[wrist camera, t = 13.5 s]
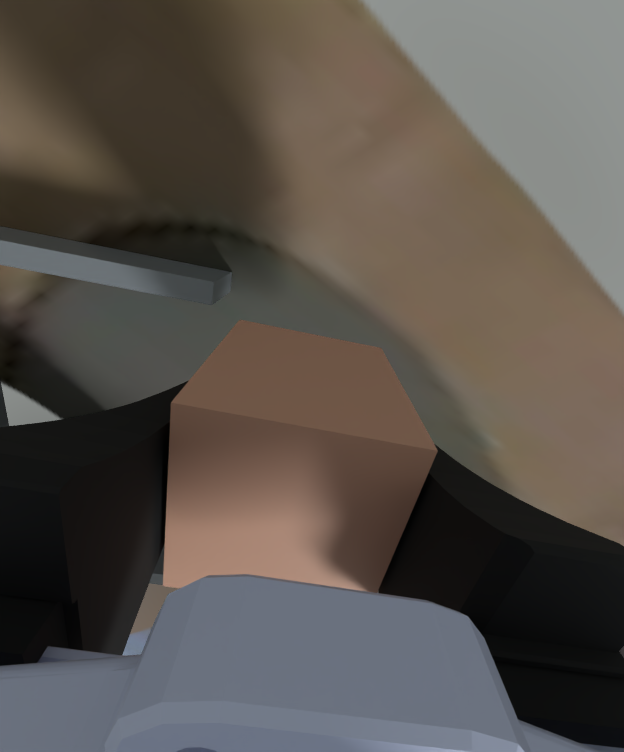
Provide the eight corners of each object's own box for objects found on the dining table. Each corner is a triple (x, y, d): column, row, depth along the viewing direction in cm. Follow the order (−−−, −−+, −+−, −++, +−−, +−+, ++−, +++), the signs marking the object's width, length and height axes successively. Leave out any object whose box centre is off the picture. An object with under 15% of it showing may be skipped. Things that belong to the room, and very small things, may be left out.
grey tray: (206, 543, 26) (176, 630, 20) (12, 515, 25) (-75, 598, 19) (232, 272, 18) (194, 292, 12) (-52, 215, 17) (-233, 209, 11)
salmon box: (346, 461, 14) (367, 615, 8) (224, 440, 14) (162, 585, 8) (381, 348, 12) (437, 450, 6) (239, 319, 12) (170, 402, 6)
